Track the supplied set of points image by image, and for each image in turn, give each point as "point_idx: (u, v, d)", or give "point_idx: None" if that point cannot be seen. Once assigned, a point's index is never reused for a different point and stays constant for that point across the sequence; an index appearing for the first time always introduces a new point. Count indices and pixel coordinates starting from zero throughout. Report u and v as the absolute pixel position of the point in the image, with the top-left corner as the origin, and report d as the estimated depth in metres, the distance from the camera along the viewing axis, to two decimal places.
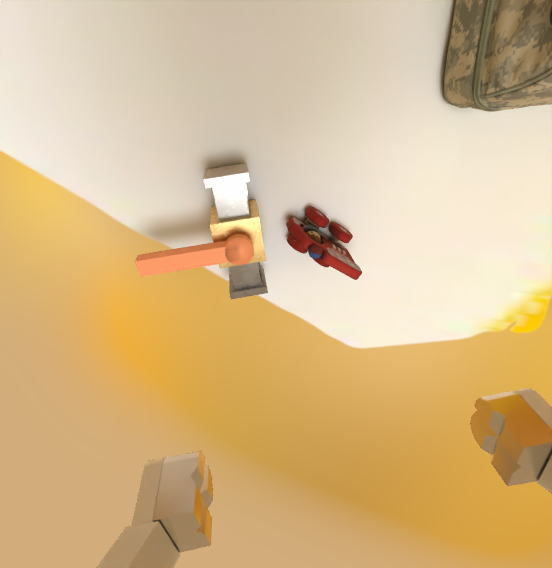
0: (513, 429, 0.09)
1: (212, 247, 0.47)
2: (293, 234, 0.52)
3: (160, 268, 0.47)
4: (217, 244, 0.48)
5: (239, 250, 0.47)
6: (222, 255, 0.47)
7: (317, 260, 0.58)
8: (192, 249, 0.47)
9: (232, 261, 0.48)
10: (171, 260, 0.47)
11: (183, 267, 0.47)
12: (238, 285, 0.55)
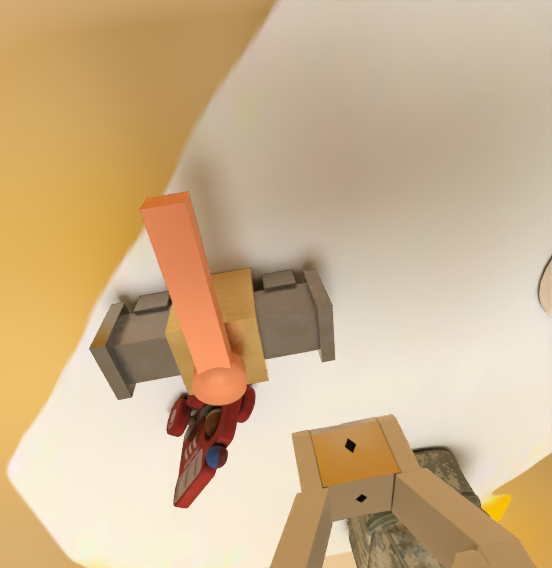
0: (358, 459, 0.08)
1: (225, 342, 0.24)
2: (229, 406, 0.34)
3: (170, 256, 0.20)
4: (227, 343, 0.25)
5: (223, 386, 0.25)
6: (210, 363, 0.24)
7: (178, 422, 0.38)
8: (217, 311, 0.23)
9: (199, 378, 0.25)
10: (194, 280, 0.21)
11: (177, 301, 0.21)
12: (122, 352, 0.28)
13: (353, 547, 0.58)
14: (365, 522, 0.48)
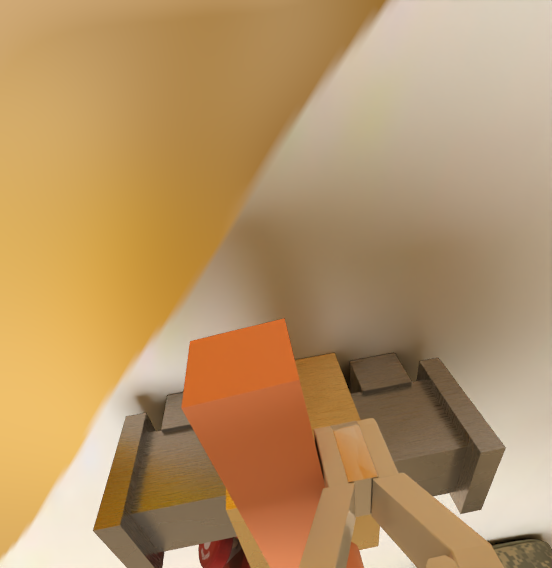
0: (336, 463, 0.08)
1: None
2: None
3: (253, 476, 0.08)
4: None
5: None
6: None
7: (218, 555, 0.27)
8: None
9: None
10: (301, 502, 0.09)
11: (264, 534, 0.10)
12: (148, 519, 0.17)
13: None
14: None
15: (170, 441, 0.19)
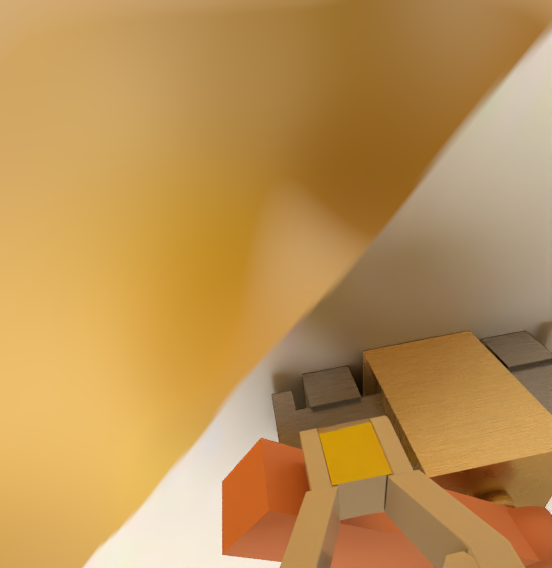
0: (351, 460, 0.08)
1: None
2: None
3: None
4: (496, 518, 0.14)
5: None
6: None
7: None
8: None
9: None
10: (385, 546, 0.11)
11: None
12: None
13: None
14: None
15: (323, 417, 0.19)
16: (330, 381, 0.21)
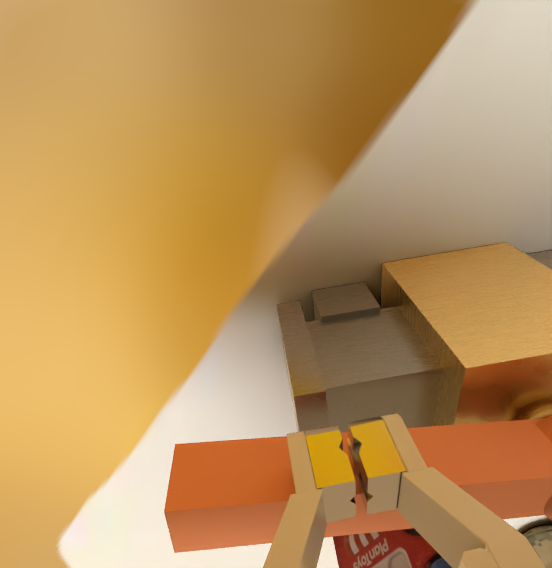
0: (364, 458, 0.09)
1: (506, 460, 0.11)
2: None
3: (271, 531, 0.10)
4: (511, 439, 0.12)
5: None
6: (536, 499, 0.11)
7: None
8: (424, 461, 0.11)
9: None
10: None
11: (367, 528, 0.11)
12: (338, 399, 0.14)
13: None
14: None
15: (335, 328, 0.17)
16: (344, 295, 0.18)
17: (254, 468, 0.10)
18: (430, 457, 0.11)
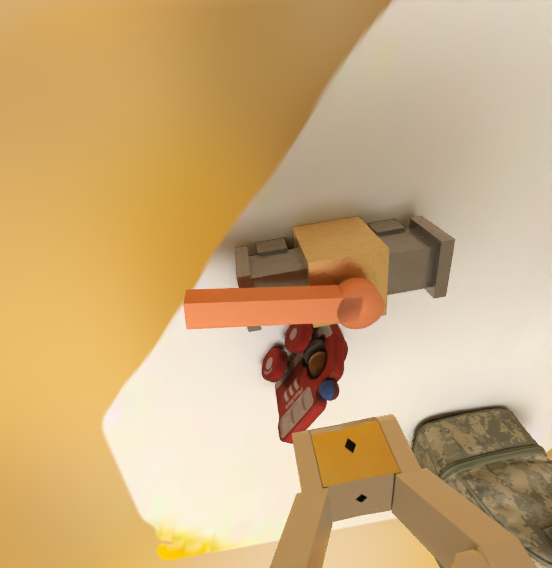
0: (358, 459, 0.08)
1: (318, 294, 0.27)
2: (336, 346, 0.37)
3: (224, 319, 0.27)
4: (323, 289, 0.28)
5: (361, 306, 0.28)
6: (331, 311, 0.28)
7: (278, 367, 0.40)
8: (284, 294, 0.27)
9: (344, 321, 0.28)
10: (247, 309, 0.27)
11: (263, 322, 0.27)
12: (259, 284, 0.31)
13: None
14: (436, 473, 0.50)
15: (264, 257, 0.33)
16: (271, 243, 0.35)
17: (217, 295, 0.27)
18: (287, 293, 0.27)
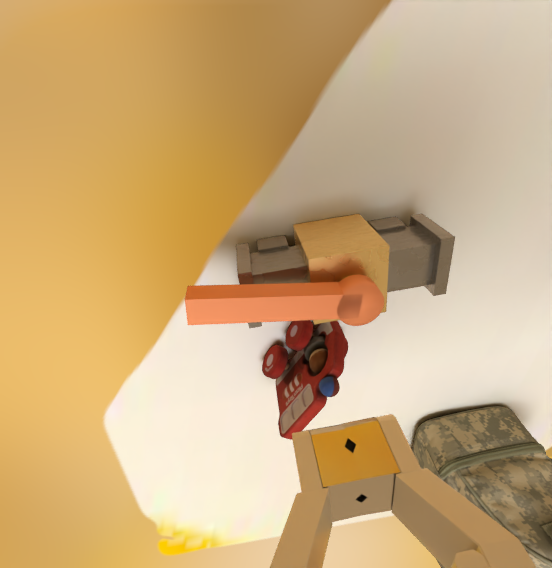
0: (358, 459, 0.08)
1: (318, 291, 0.28)
2: (337, 343, 0.37)
3: (225, 315, 0.27)
4: (324, 286, 0.28)
5: (361, 303, 0.28)
6: (331, 308, 0.28)
7: (279, 364, 0.41)
8: (285, 291, 0.27)
9: (344, 318, 0.29)
10: (247, 305, 0.27)
11: (263, 318, 0.28)
12: (260, 281, 0.31)
13: None
14: (436, 470, 0.50)
15: (264, 254, 0.33)
16: (272, 241, 0.35)
17: (218, 291, 0.27)
18: (288, 290, 0.28)
